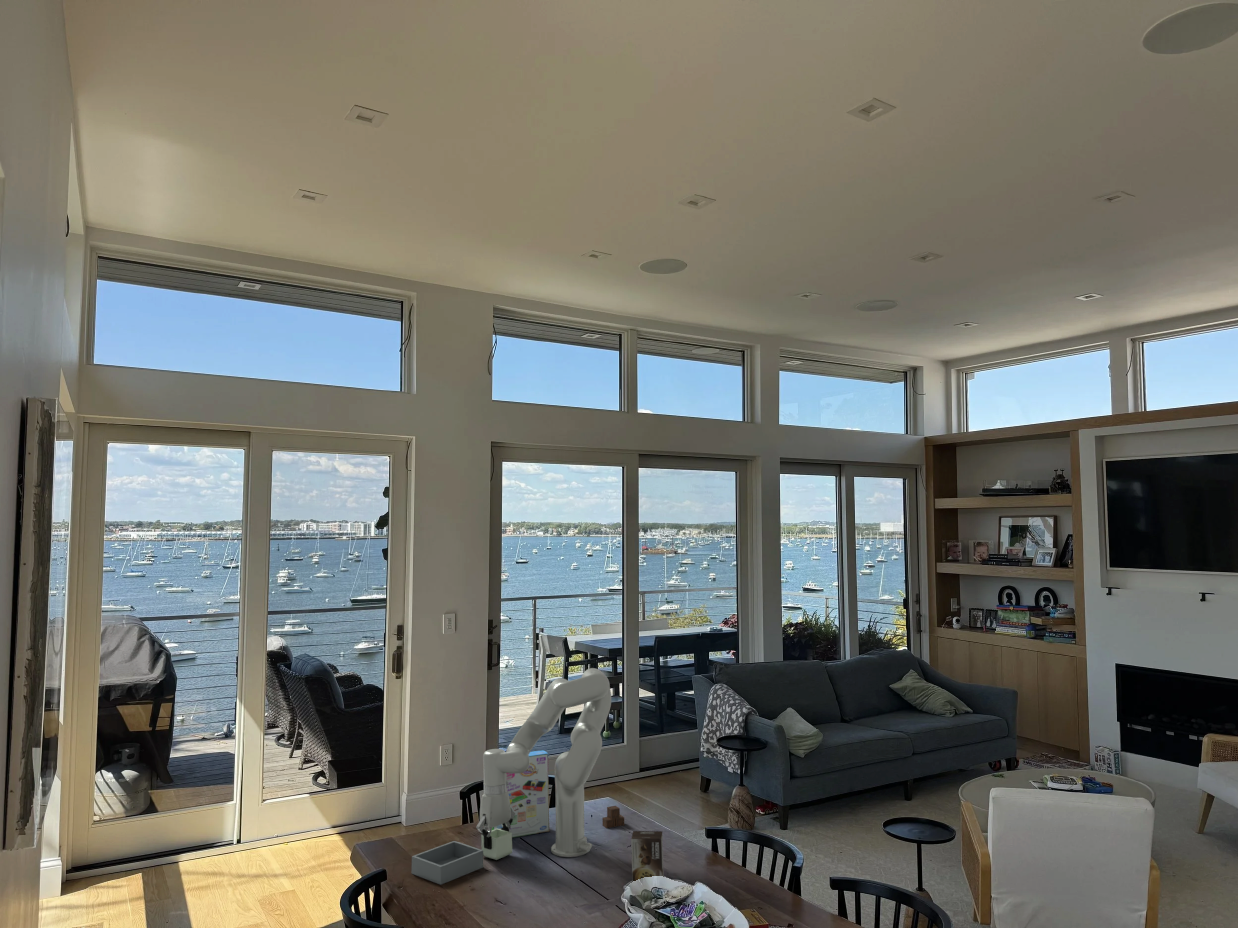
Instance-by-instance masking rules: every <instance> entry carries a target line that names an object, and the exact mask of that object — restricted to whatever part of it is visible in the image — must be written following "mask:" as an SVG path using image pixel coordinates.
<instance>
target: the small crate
mask: <svg viewBox="0 0 1238 928" xmlns="http://www.w3.org/2000/svg"><path fill="white" fill-rule="evenodd" d="M490 836H492V849H486V848H484V836H482V834H481V837H480V838H481V839H480V840H481V850H483V857H486V858H489V859H493V860H496V861H497V860H499V859H501V858H505V857H506V856H508V855H510V854H513V838H512V832H508V831H504V830H501V829H494V830H492V831H491V834H490Z"/></svg>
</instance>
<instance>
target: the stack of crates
mask: <svg viewBox="0 0 1238 928" xmlns="http://www.w3.org/2000/svg"><path fill="white" fill-rule="evenodd" d="M620 809H621V808H620V807H618V806H617V805H612V806H607V807H606V816H605V817H602V818H601V819H602V826H603V827H604V828H606V829H610V828H615V827H624V826H625V816H624V815H622V814H620V813H621V810H620Z"/></svg>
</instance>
